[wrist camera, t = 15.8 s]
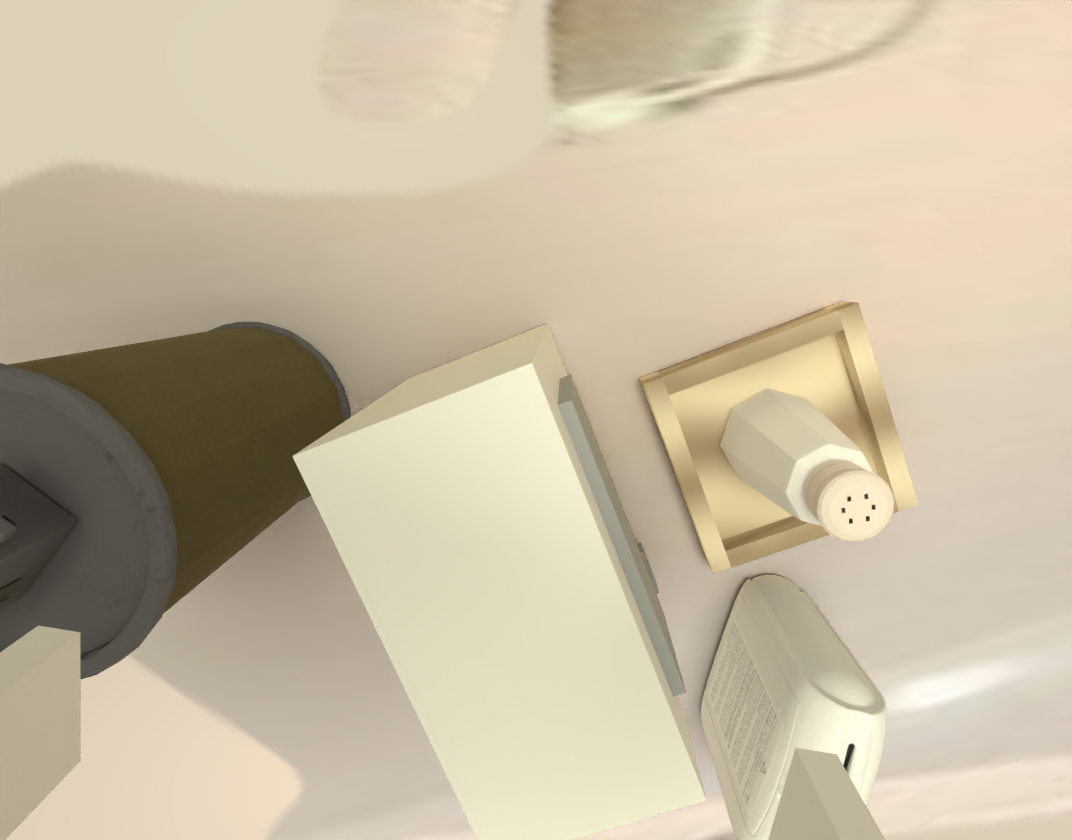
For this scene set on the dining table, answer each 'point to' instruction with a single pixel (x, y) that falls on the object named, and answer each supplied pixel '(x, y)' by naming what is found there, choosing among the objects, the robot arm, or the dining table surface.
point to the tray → (740, 373)
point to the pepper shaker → (806, 465)
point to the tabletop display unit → (511, 594)
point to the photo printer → (785, 702)
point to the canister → (147, 474)
